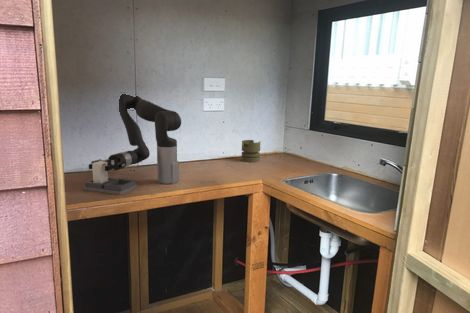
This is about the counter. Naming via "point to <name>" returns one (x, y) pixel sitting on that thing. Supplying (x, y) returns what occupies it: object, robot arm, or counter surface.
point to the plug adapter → (99, 172)
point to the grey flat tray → (111, 186)
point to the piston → (250, 151)
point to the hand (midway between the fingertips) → (97, 167)
